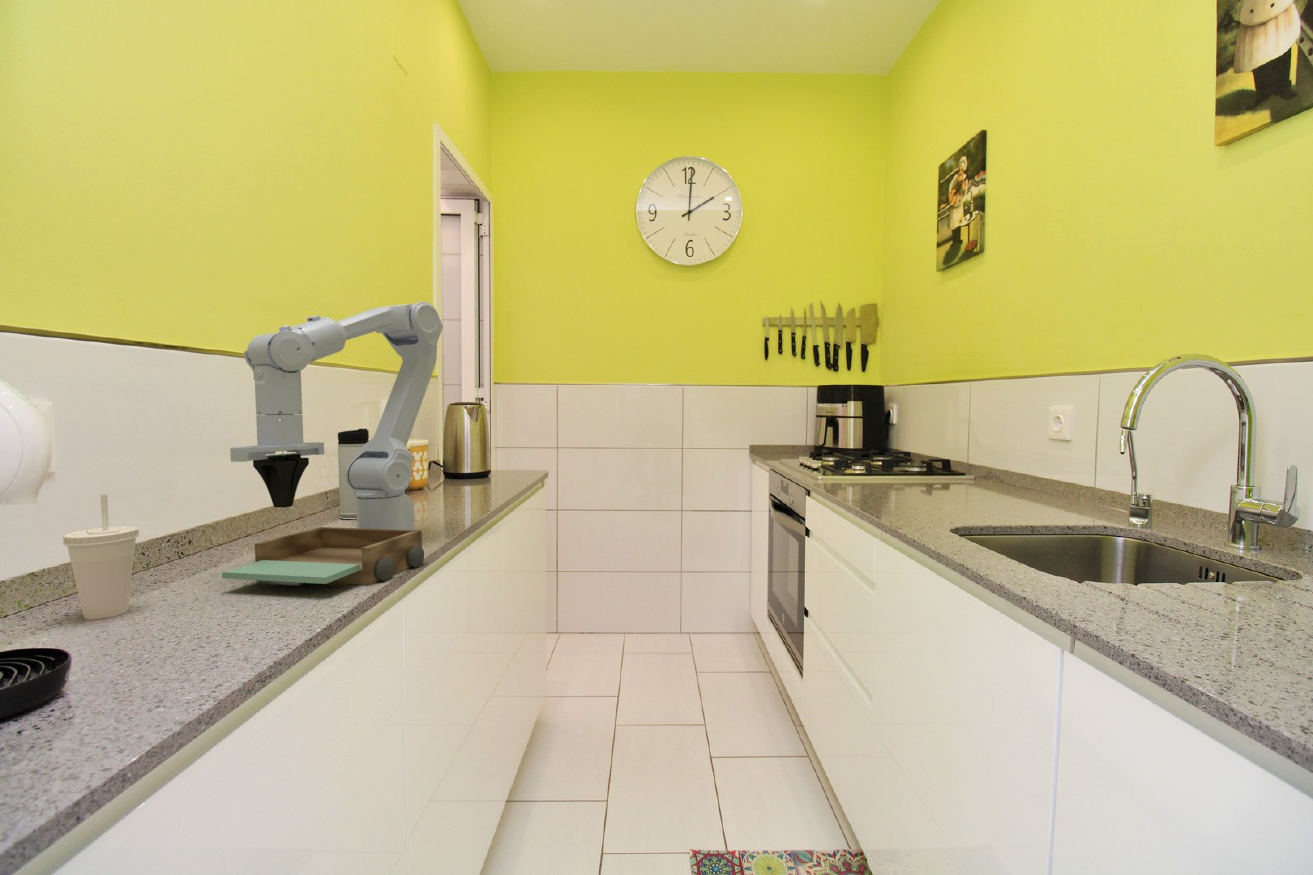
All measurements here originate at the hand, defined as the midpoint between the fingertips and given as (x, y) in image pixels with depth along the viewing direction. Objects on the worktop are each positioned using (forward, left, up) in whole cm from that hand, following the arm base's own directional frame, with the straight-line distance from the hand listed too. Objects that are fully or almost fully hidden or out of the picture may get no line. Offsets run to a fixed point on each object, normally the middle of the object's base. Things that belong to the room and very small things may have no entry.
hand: (283, 506), depth 85 cm
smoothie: (+20, -5, -10) cm, 23 cm away
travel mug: (-41, -21, -10) cm, 47 cm away
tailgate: (+5, +9, -7) cm, 13 cm away
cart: (-1, +9, -9) cm, 13 cm away
